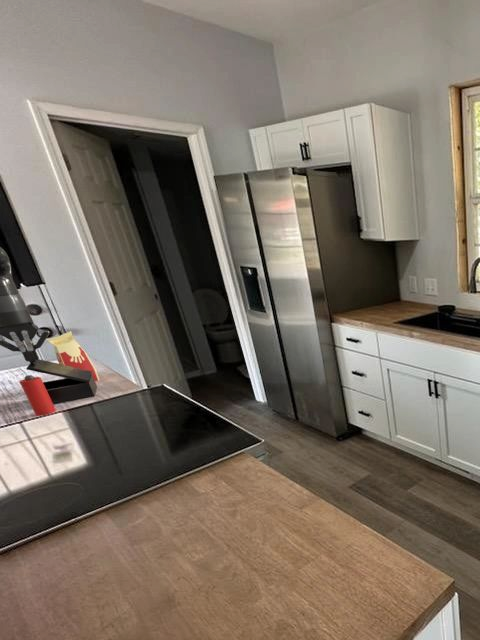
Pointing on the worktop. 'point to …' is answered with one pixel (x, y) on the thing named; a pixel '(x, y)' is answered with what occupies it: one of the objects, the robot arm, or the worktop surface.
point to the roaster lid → (60, 370)
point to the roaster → (70, 389)
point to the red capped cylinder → (37, 395)
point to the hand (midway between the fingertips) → (33, 361)
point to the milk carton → (72, 353)
